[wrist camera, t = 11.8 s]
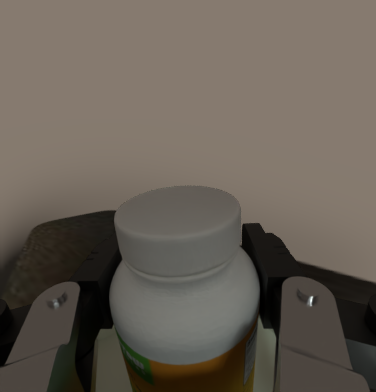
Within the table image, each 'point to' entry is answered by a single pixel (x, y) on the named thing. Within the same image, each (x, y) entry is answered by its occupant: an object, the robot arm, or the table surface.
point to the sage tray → (119, 380)
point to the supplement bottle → (185, 292)
